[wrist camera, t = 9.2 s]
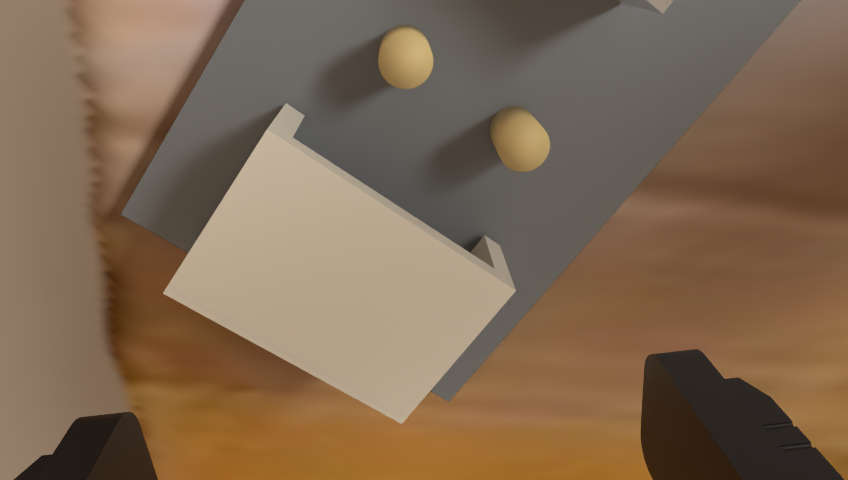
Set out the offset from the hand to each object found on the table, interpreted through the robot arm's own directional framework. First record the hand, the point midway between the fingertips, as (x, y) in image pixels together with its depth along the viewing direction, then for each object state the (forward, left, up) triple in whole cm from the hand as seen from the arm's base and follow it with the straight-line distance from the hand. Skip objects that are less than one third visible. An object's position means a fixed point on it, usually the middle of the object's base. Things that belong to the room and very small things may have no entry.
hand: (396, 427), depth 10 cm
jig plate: (-1, -4, -17) cm, 18 cm away
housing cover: (-1, +4, -16) cm, 16 cm away
